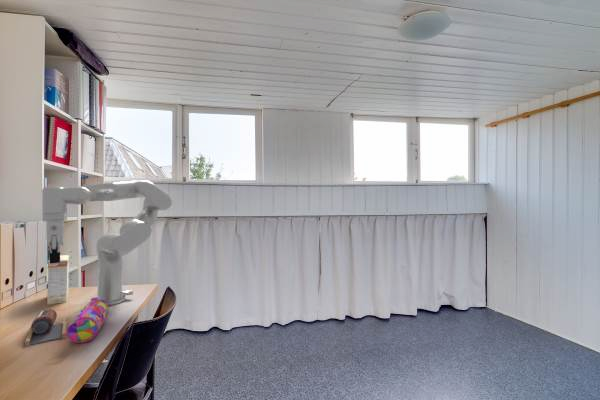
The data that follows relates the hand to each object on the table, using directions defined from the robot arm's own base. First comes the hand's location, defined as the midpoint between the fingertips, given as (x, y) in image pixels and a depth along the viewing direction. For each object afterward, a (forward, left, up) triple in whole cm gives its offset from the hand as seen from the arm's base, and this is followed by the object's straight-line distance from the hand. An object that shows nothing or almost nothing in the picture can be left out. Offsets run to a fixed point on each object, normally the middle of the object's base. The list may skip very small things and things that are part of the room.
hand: (54, 262), depth 115 cm
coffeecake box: (0, -26, -22) cm, 34 cm away
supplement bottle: (+1, +9, -18) cm, 20 cm away
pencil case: (-11, +24, -22) cm, 34 cm away
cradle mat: (+1, +18, -22) cm, 28 cm away
